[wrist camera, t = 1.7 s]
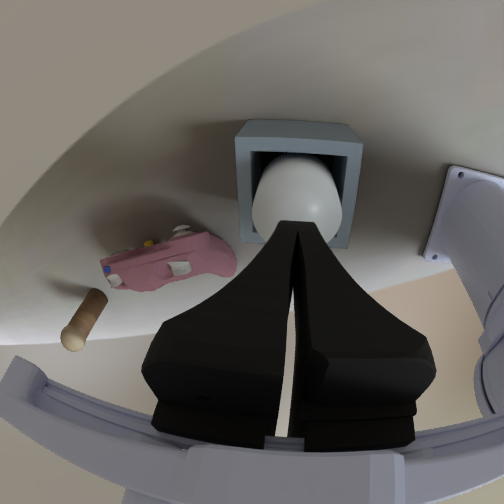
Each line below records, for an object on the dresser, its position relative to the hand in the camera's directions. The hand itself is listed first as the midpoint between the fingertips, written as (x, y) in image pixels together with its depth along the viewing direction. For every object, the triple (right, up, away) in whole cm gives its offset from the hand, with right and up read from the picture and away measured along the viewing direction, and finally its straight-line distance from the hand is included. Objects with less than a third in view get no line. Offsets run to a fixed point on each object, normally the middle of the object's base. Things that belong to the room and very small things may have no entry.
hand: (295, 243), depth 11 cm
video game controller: (-8, 0, +12) cm, 15 cm away
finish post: (-19, -5, +18) cm, 26 cm away
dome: (+1, +3, +4) cm, 6 cm away
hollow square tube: (+1, +5, +7) cm, 9 cm away
